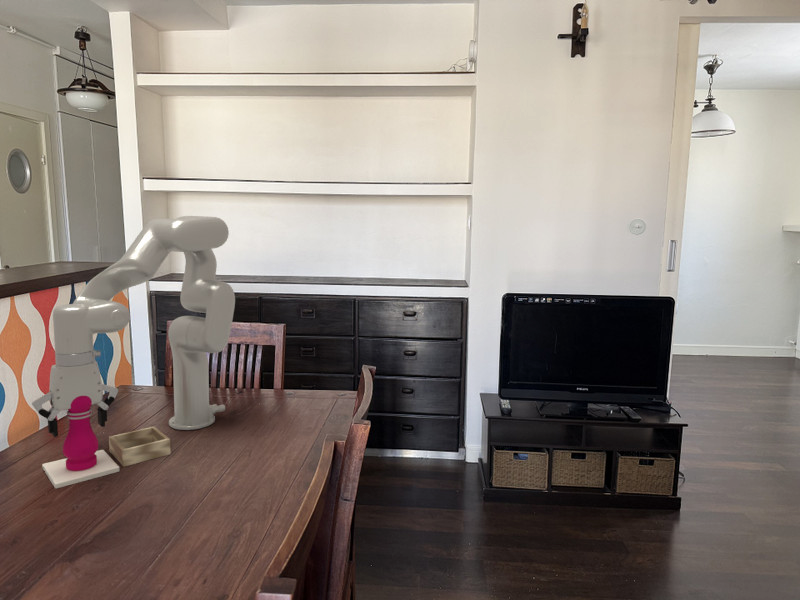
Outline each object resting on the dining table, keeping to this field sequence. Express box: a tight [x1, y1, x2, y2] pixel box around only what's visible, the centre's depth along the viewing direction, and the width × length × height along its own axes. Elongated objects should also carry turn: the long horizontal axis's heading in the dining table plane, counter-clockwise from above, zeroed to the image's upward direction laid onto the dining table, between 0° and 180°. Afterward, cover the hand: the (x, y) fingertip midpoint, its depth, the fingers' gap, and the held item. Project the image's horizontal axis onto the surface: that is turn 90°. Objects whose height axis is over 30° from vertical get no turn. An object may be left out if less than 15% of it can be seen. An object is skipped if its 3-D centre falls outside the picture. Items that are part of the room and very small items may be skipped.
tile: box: [41, 449, 120, 490], centre depth 126 cm, size 13×13×1 cm
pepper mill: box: [62, 396, 99, 471], centre depth 125 cm, size 7×7×20 cm
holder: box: [108, 426, 171, 467], centre depth 136 cm, size 11×11×4 cm
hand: (78, 429), depth 125 cm, fingers open, 9 cm apart
